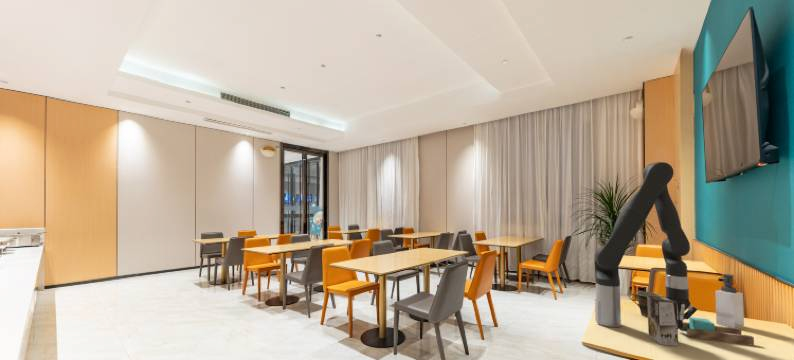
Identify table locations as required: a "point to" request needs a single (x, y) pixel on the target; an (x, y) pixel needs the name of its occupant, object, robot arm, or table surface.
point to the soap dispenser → (729, 304)
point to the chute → (719, 334)
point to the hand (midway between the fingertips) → (678, 328)
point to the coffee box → (662, 320)
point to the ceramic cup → (643, 301)
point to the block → (701, 324)
